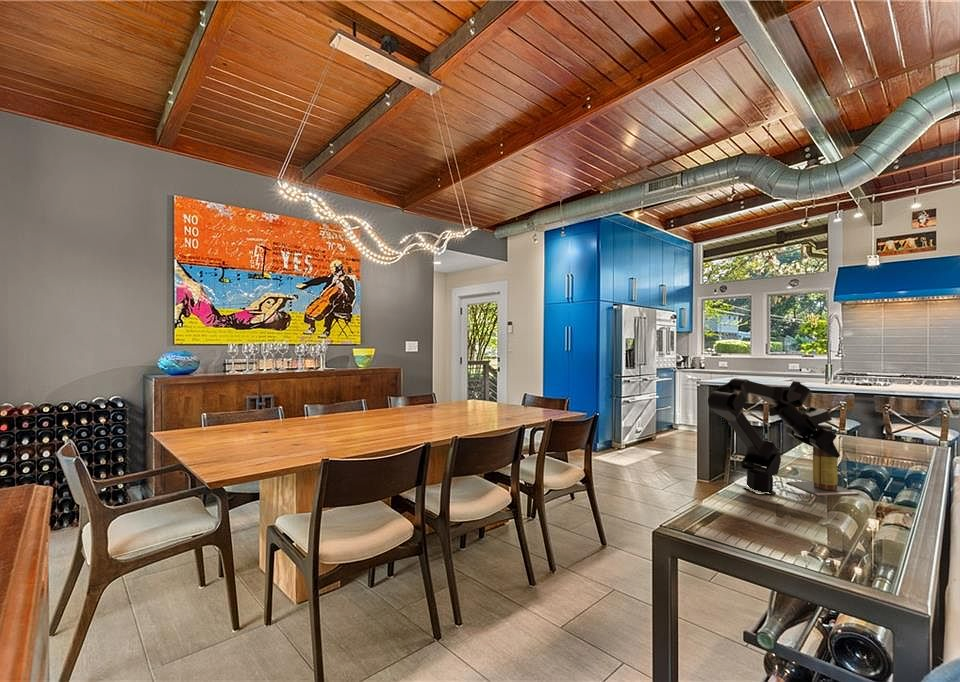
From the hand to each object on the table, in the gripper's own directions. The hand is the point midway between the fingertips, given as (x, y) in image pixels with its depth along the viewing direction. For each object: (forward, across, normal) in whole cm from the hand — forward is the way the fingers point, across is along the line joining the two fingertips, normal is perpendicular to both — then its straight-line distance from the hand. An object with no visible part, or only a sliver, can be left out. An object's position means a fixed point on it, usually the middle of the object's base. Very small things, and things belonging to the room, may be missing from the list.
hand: (829, 453), depth 144 cm
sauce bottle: (+7, 0, +9) cm, 11 cm away
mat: (+6, 0, +10) cm, 12 cm away
